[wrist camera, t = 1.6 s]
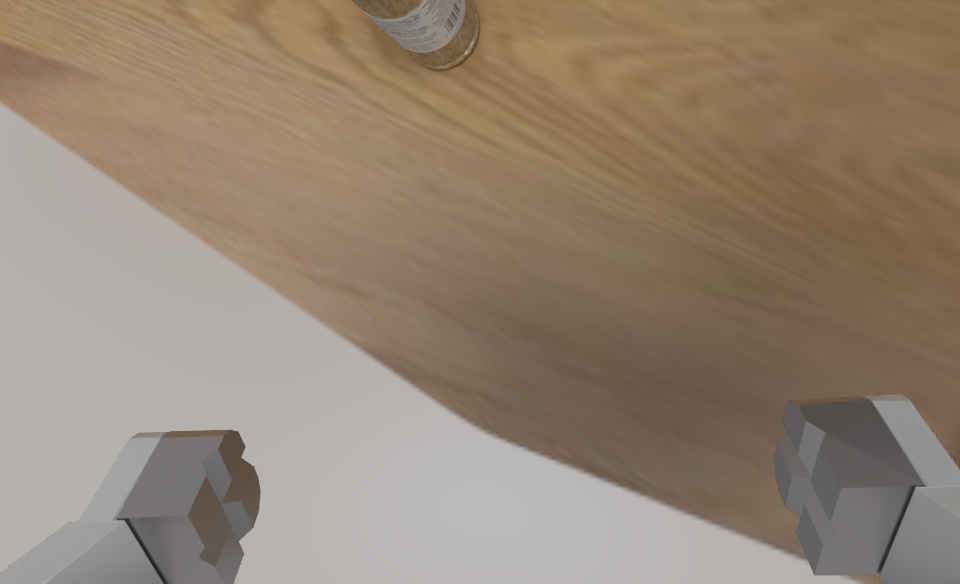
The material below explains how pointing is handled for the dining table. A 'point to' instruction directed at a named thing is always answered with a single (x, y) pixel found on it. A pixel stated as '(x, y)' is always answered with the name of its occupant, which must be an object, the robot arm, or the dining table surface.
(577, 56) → the dining table surface
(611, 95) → the dining table surface
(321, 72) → the dining table surface
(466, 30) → the sprinkles bottle
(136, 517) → the robot arm
